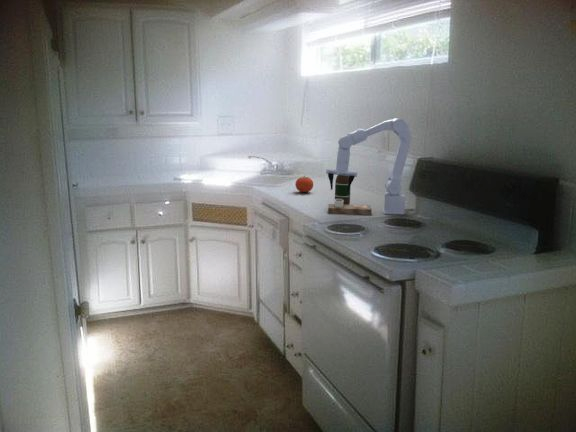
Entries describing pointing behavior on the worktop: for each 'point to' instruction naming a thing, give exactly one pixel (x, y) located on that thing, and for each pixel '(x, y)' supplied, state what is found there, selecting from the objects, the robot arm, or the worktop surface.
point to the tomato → (304, 184)
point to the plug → (338, 203)
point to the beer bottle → (342, 189)
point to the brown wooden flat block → (350, 209)
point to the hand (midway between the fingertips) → (339, 190)
